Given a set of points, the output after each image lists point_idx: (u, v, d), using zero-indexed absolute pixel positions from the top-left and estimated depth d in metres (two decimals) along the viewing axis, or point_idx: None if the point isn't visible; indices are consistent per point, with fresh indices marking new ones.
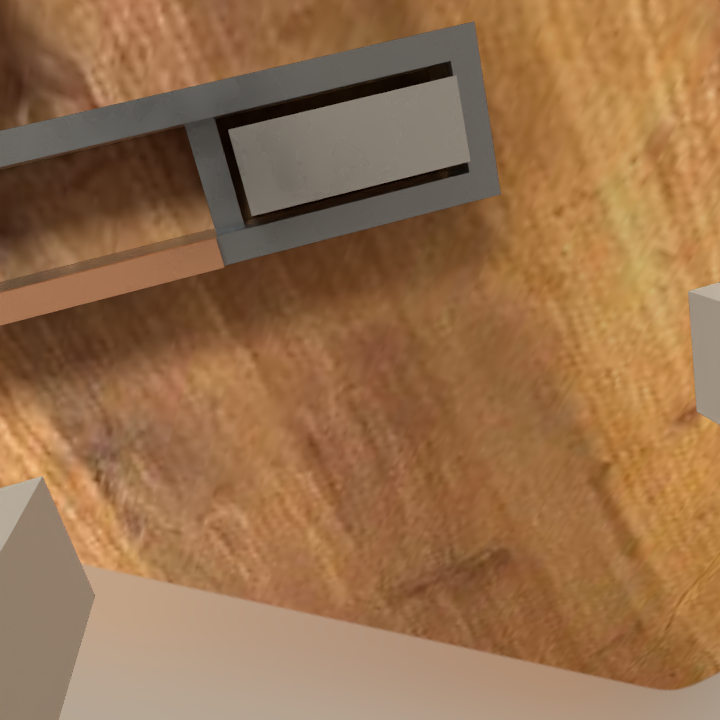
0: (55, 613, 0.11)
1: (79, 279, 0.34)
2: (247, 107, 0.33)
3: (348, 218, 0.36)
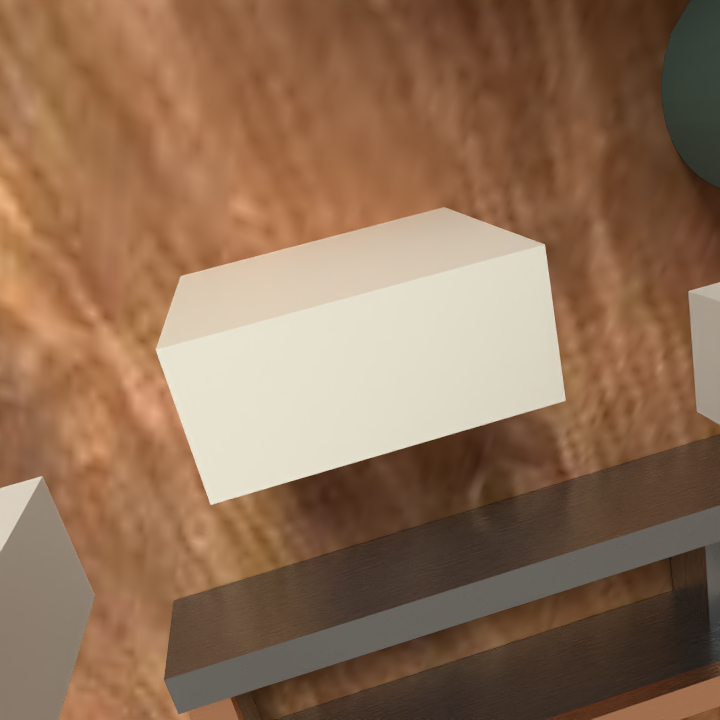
0: (55, 613, 0.11)
1: None
2: None
3: None
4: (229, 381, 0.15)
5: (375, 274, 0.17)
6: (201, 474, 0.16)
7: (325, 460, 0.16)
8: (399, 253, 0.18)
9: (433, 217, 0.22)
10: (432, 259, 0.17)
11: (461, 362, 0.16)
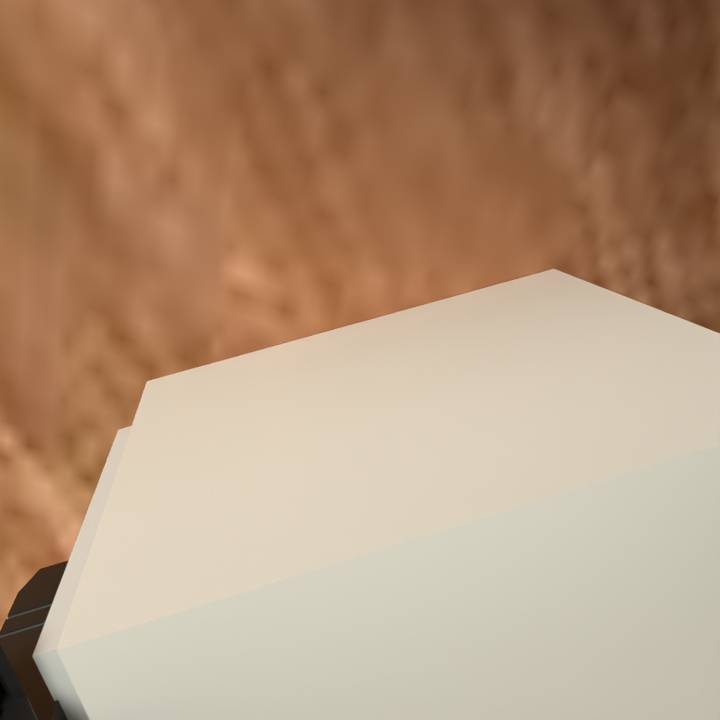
0: None
1: None
2: None
3: None
4: (221, 695, 0.07)
5: (506, 437, 0.09)
6: None
7: None
8: (531, 378, 0.10)
9: (548, 290, 0.14)
10: (617, 407, 0.09)
11: (689, 622, 0.08)
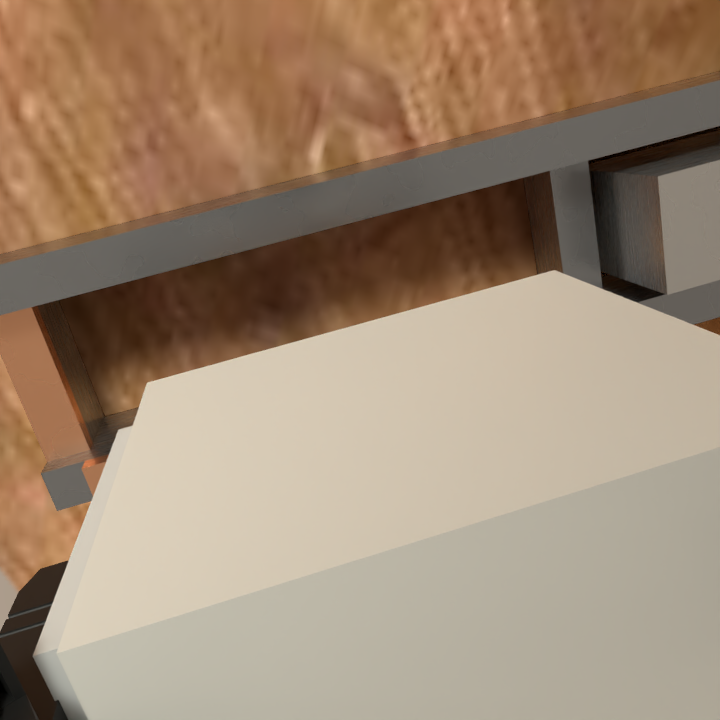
0: None
1: None
2: (653, 141, 0.24)
3: None
4: (220, 698, 0.07)
5: (507, 440, 0.09)
6: None
7: None
8: (532, 380, 0.10)
9: (549, 291, 0.14)
10: (618, 410, 0.09)
11: (691, 626, 0.08)
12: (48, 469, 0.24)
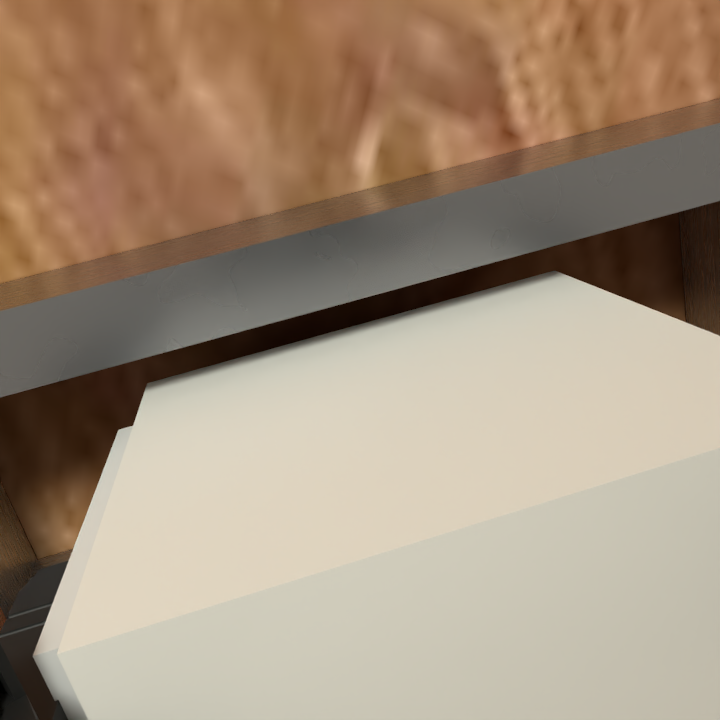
0: None
1: None
2: None
3: None
4: (221, 700, 0.07)
5: (507, 441, 0.09)
6: None
7: None
8: (532, 380, 0.10)
9: (549, 292, 0.14)
10: (618, 410, 0.09)
11: (690, 626, 0.08)
12: None
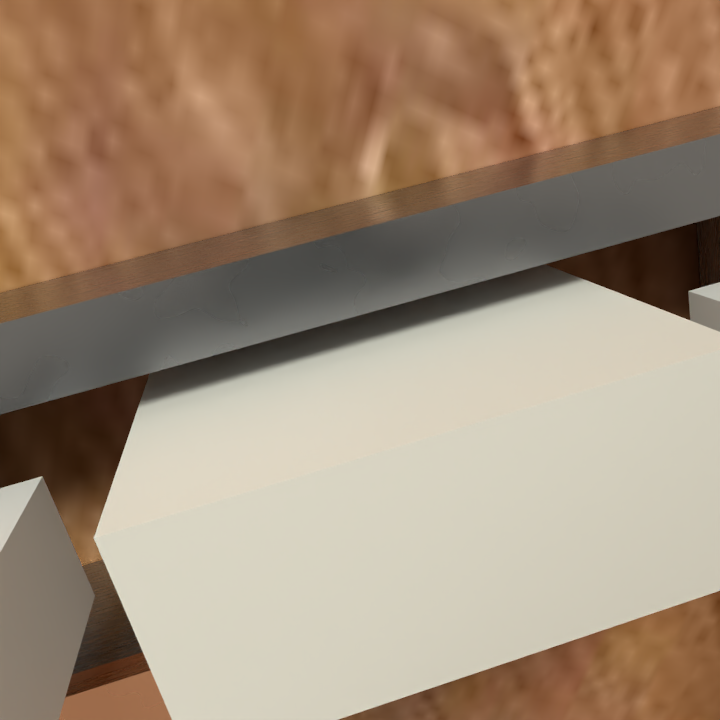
0: (55, 613, 0.11)
1: None
2: None
3: None
4: (222, 580, 0.09)
5: (455, 383, 0.10)
6: None
7: (379, 689, 0.10)
8: (482, 339, 0.12)
9: None
10: (546, 358, 0.11)
11: (601, 530, 0.10)
12: None
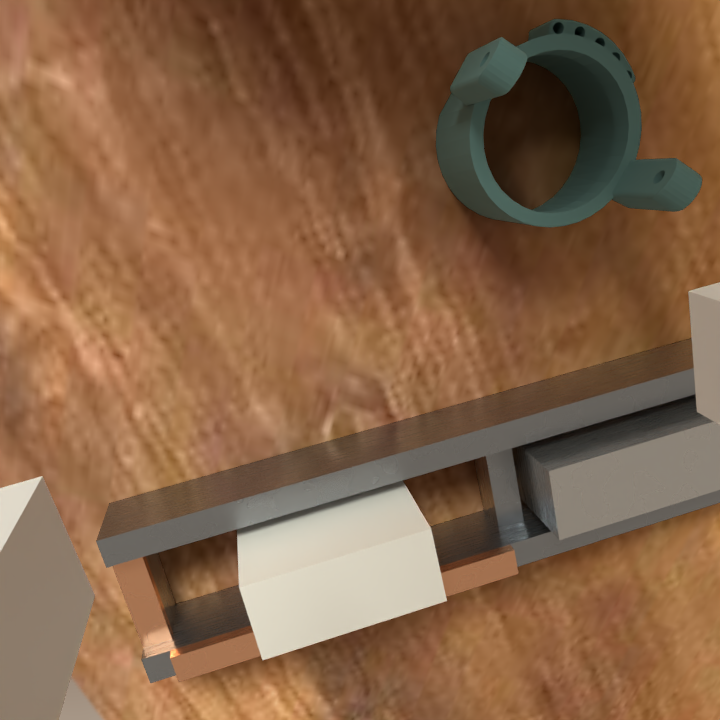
0: (55, 613, 0.11)
1: None
2: (550, 435, 0.36)
3: (624, 520, 0.38)
4: (274, 600, 0.31)
5: (347, 536, 0.33)
6: (258, 645, 0.32)
7: (321, 635, 0.32)
8: (361, 516, 0.34)
9: None
10: (376, 528, 0.33)
11: (390, 585, 0.32)
12: (146, 656, 0.35)
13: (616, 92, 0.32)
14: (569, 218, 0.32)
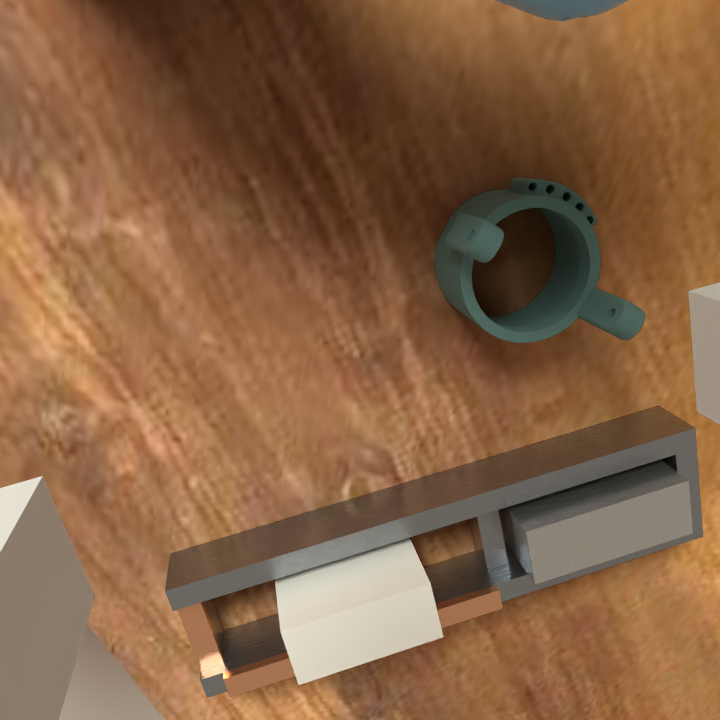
0: (55, 613, 0.11)
1: None
2: (528, 499, 0.44)
3: None
4: (307, 640, 0.40)
5: (364, 588, 0.41)
6: (295, 674, 0.40)
7: (344, 665, 0.41)
8: (374, 568, 0.43)
9: None
10: (387, 581, 0.41)
11: (399, 626, 0.41)
12: (203, 676, 0.44)
13: (580, 235, 0.39)
14: (542, 335, 0.40)
